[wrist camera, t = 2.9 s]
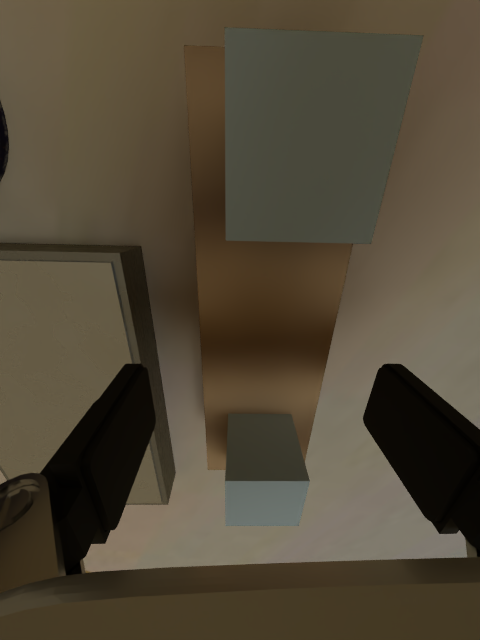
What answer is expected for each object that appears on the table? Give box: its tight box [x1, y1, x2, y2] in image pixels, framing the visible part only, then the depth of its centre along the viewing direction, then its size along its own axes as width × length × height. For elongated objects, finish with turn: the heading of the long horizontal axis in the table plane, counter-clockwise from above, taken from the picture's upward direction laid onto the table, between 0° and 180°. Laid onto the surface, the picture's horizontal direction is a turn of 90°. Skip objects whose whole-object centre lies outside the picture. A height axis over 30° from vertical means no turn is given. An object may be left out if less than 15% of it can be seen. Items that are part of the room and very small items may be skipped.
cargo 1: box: [225, 414, 310, 526], centre depth 13 cm, size 4×4×4 cm
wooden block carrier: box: [184, 45, 353, 470], centre depth 15 cm, size 22×7×6 cm, turn 179°
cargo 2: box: [225, 27, 424, 244], centre depth 7 cm, size 4×4×4 cm
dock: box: [0, 243, 176, 505], centre depth 18 cm, size 14×24×3 cm, turn 179°
